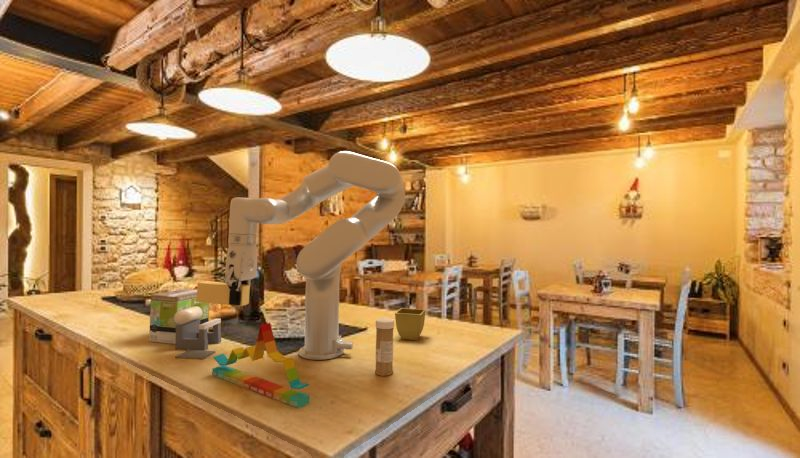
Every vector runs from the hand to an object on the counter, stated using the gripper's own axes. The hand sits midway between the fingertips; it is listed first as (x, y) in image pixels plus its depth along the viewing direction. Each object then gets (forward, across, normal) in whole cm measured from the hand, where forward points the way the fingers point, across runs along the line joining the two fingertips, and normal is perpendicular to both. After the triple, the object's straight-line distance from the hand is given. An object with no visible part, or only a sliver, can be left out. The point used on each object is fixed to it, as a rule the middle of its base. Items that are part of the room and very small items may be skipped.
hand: (239, 302), depth 115 cm
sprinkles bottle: (+12, -10, -45) cm, 48 cm away
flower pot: (+12, +23, -48) cm, 55 cm away
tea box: (+15, +10, +25) cm, 31 cm away
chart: (+14, -24, -19) cm, 34 cm away
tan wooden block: (0, 0, +5) cm, 5 cm away
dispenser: (+15, +3, +14) cm, 20 cm away
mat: (+14, -6, +9) cm, 18 cm away
